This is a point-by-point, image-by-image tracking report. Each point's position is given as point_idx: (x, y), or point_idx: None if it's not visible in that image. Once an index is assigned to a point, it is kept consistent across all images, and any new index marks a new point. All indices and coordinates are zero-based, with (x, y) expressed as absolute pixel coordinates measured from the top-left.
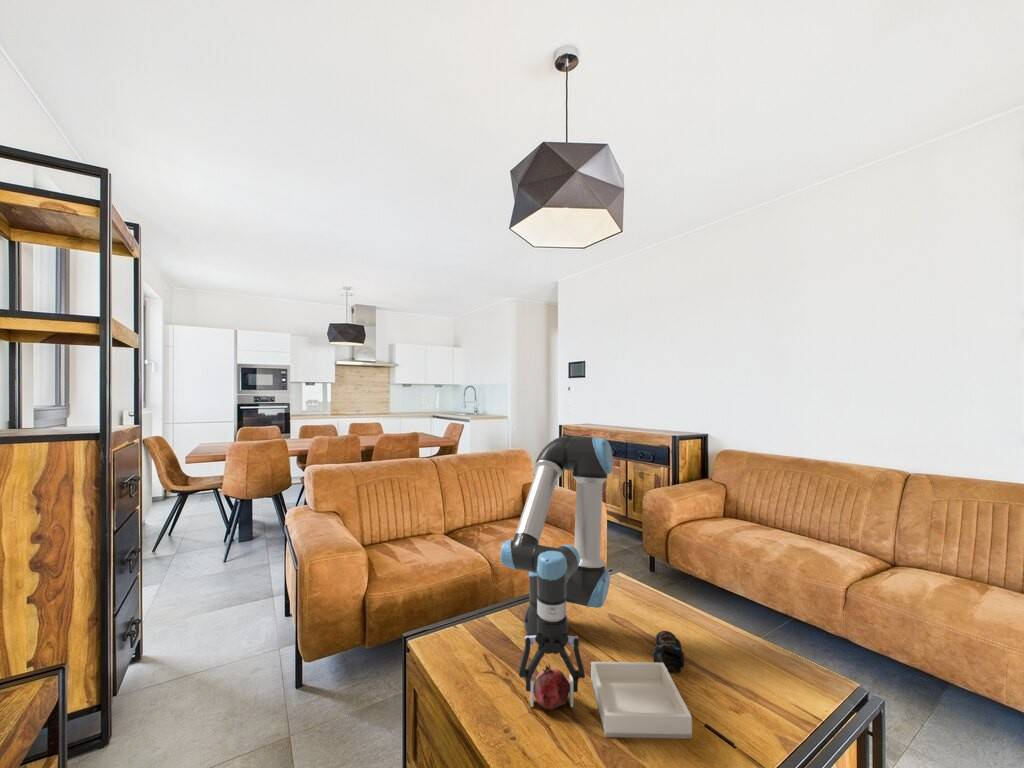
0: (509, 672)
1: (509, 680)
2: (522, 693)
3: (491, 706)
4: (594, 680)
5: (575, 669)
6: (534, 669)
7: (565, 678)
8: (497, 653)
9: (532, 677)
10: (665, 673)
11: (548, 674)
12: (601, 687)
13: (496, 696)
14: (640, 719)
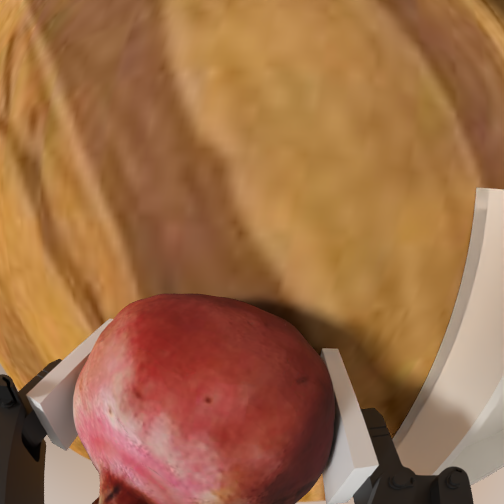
0: (42, 107)
1: (34, 166)
2: (77, 264)
3: (12, 316)
4: (497, 329)
5: (413, 497)
6: (38, 498)
7: (298, 497)
8: (44, 12)
9: (49, 429)
10: None
11: None
12: (477, 429)
13: (10, 270)
14: None
